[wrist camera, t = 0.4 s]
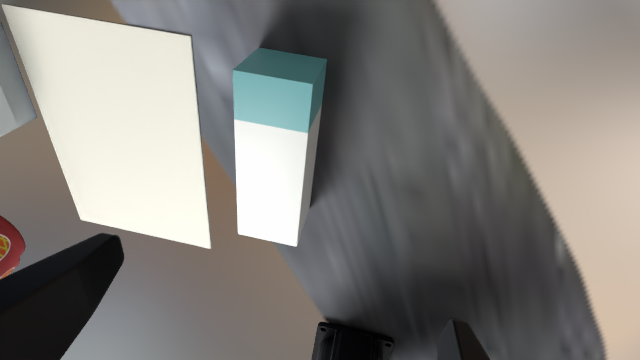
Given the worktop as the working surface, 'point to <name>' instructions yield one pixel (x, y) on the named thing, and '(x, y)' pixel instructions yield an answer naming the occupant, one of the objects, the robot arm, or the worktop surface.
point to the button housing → (12, 91)
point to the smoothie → (9, 247)
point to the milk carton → (276, 141)
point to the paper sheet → (120, 120)
